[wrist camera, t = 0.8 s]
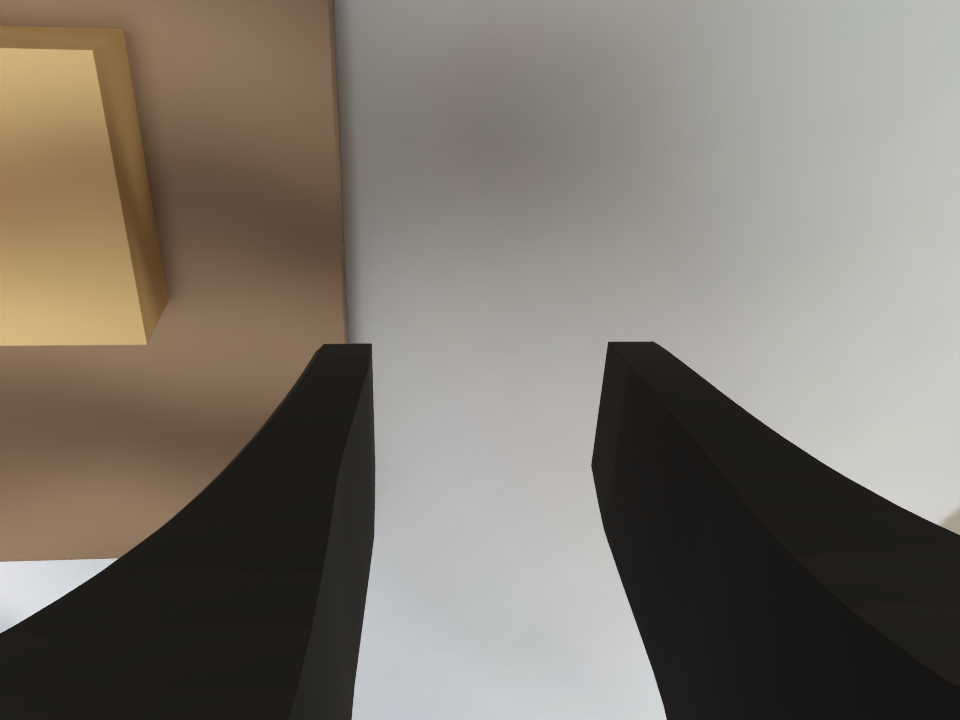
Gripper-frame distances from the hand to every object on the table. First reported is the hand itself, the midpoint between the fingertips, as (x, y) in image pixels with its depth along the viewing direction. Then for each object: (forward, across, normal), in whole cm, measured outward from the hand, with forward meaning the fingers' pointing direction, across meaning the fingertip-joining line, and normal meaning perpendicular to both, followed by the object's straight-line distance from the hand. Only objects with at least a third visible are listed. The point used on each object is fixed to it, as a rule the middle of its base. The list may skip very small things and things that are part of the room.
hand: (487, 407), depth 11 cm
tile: (+9, +9, 0) cm, 13 cm away
